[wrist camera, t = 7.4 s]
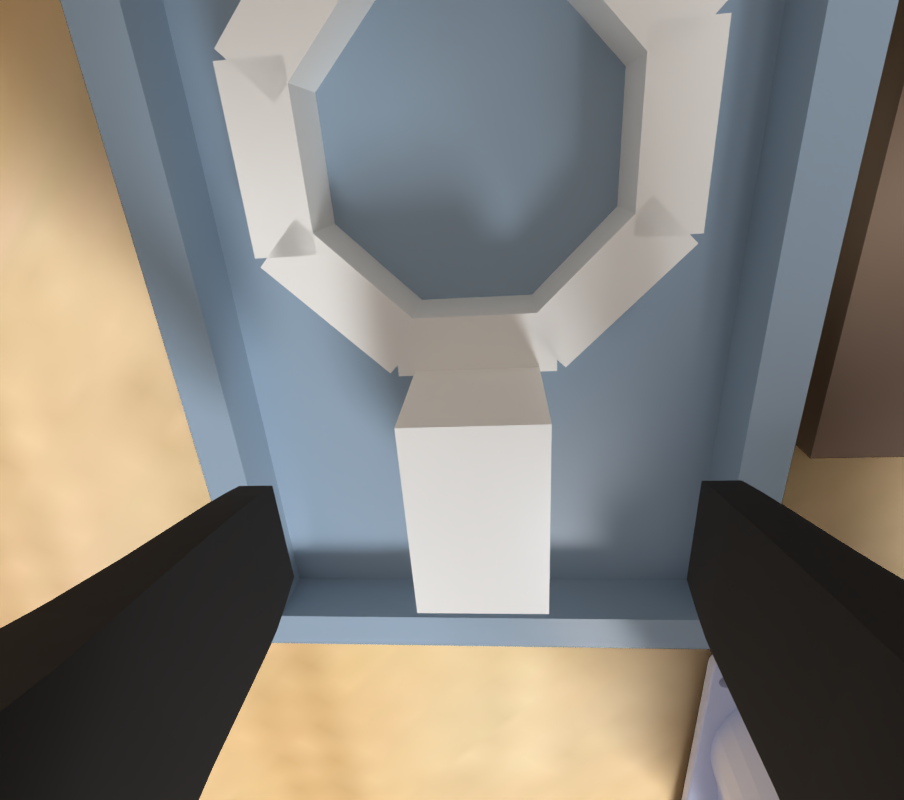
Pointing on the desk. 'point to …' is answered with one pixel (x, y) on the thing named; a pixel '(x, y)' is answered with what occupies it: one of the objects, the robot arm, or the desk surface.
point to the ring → (475, 318)
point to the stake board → (866, 297)
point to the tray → (493, 284)
